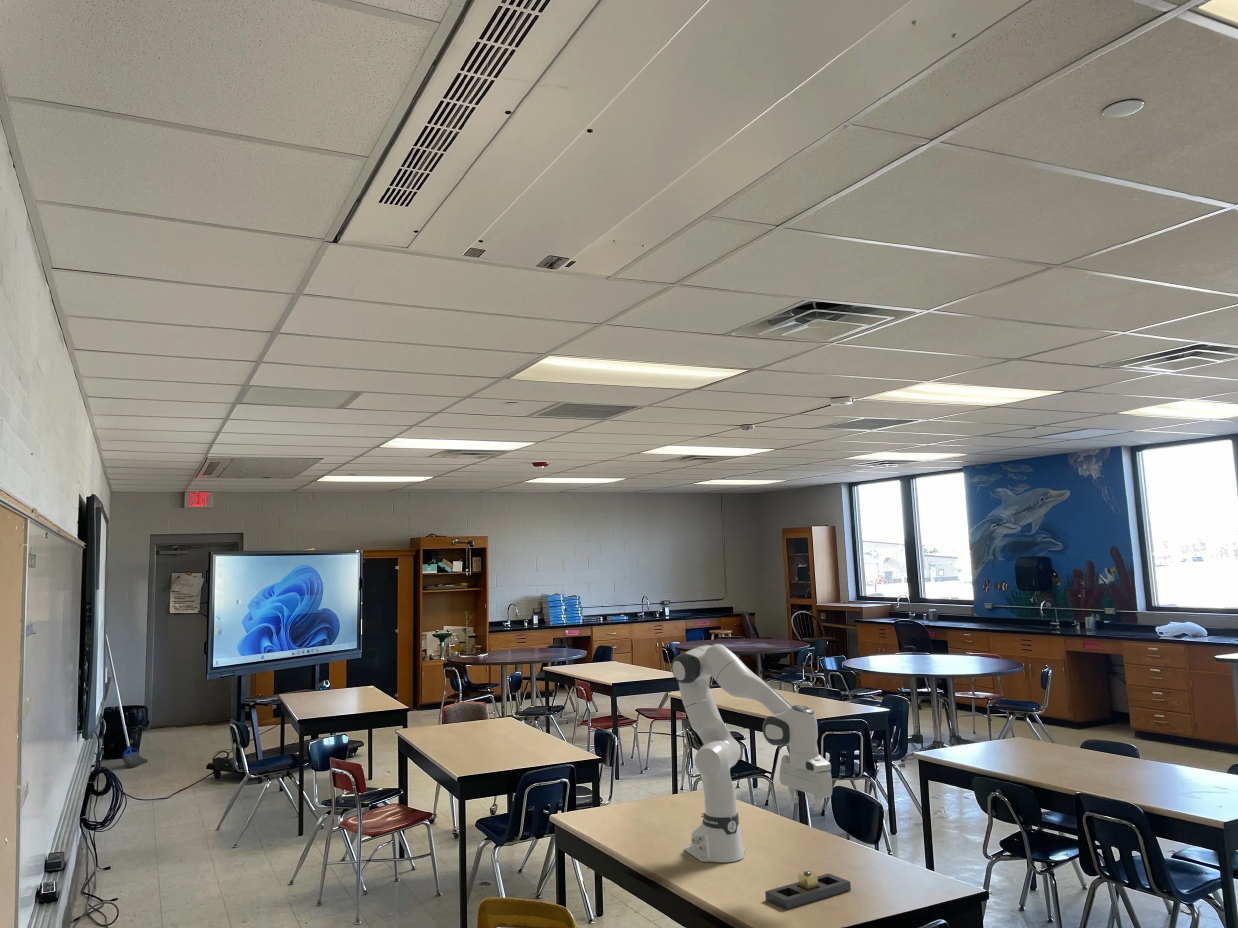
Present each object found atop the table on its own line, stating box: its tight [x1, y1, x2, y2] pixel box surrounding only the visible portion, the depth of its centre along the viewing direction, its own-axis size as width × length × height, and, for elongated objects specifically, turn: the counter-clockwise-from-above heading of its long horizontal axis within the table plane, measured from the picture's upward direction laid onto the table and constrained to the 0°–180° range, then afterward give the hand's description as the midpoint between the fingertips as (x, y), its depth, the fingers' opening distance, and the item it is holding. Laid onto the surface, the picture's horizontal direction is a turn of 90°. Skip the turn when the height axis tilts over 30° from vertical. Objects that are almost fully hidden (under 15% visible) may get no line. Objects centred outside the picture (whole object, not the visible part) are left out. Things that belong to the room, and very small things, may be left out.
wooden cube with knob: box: [797, 870, 818, 891], centre depth 248 cm, size 4×4×6 cm
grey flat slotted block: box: [764, 873, 852, 911], centre depth 248 cm, size 9×26×2 cm, turn 121°
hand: (805, 805), depth 256 cm, fingers open, 8 cm apart
